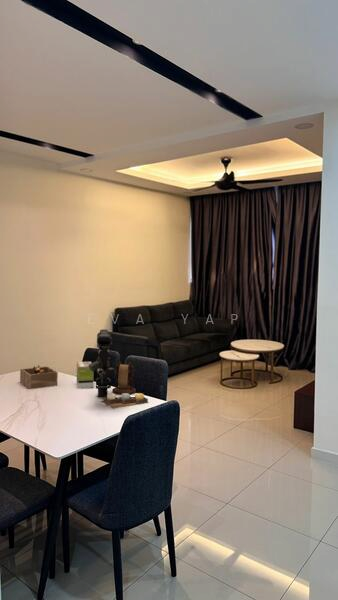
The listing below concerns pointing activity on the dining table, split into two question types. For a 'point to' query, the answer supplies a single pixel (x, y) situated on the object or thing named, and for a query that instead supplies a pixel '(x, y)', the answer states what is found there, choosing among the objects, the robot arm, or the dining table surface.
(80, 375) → the tea box
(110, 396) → the cream button
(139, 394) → the mustard button
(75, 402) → the dining table surface
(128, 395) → the slate button
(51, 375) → the box
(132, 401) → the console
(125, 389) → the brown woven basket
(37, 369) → the bear figurine
